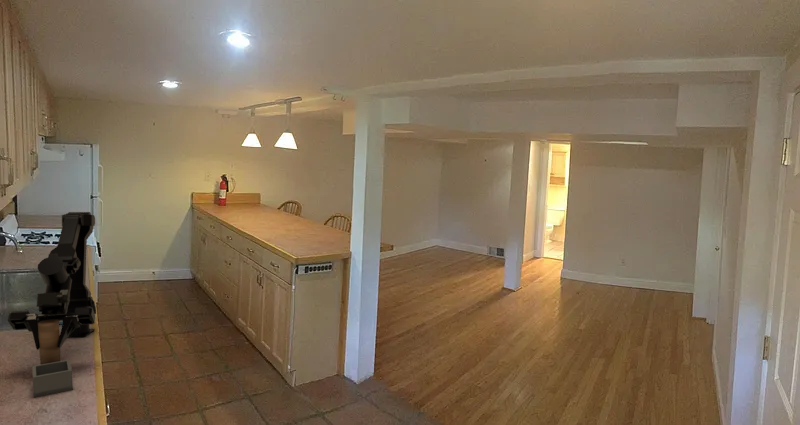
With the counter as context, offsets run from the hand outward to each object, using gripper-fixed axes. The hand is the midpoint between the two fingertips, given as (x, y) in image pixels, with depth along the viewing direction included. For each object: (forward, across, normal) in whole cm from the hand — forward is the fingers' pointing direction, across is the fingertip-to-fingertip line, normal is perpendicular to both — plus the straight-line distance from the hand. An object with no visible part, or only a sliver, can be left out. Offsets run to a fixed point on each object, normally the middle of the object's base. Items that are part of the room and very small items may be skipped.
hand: (48, 348), depth 134 cm
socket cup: (+10, +2, +2) cm, 10 cm away
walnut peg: (+4, 0, +6) cm, 7 cm away
